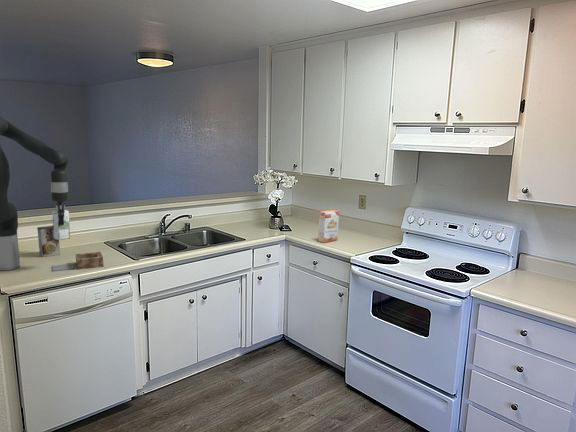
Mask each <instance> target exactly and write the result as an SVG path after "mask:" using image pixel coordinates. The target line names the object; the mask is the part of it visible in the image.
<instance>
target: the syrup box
mask: <svg viewBox="0 0 576 432" xmlns="http://www.w3.org/2000/svg"><path fill="white" fill-rule="evenodd" d="M51 213H52V226H53V232H54V239H57V240H59V241H63V240H68V239H69V240H70V239H71V233H70V232H71V229H70V228H71V227H70V212H69V210H67V209H65V213H64V225H59V218H58V213H57V209H55V210H52V212H51ZM59 215H63V214H62V213H59Z"/></svg>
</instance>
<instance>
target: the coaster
mask: <svg viewBox="0 0 576 432" xmlns="http://www.w3.org/2000/svg"><path fill="white" fill-rule="evenodd" d="M69 270H74V265H73V263H66V264H65V263H64V264H57V265H52V272H53V273H54V272H59V271H60V272H61V271H69Z"/></svg>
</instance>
